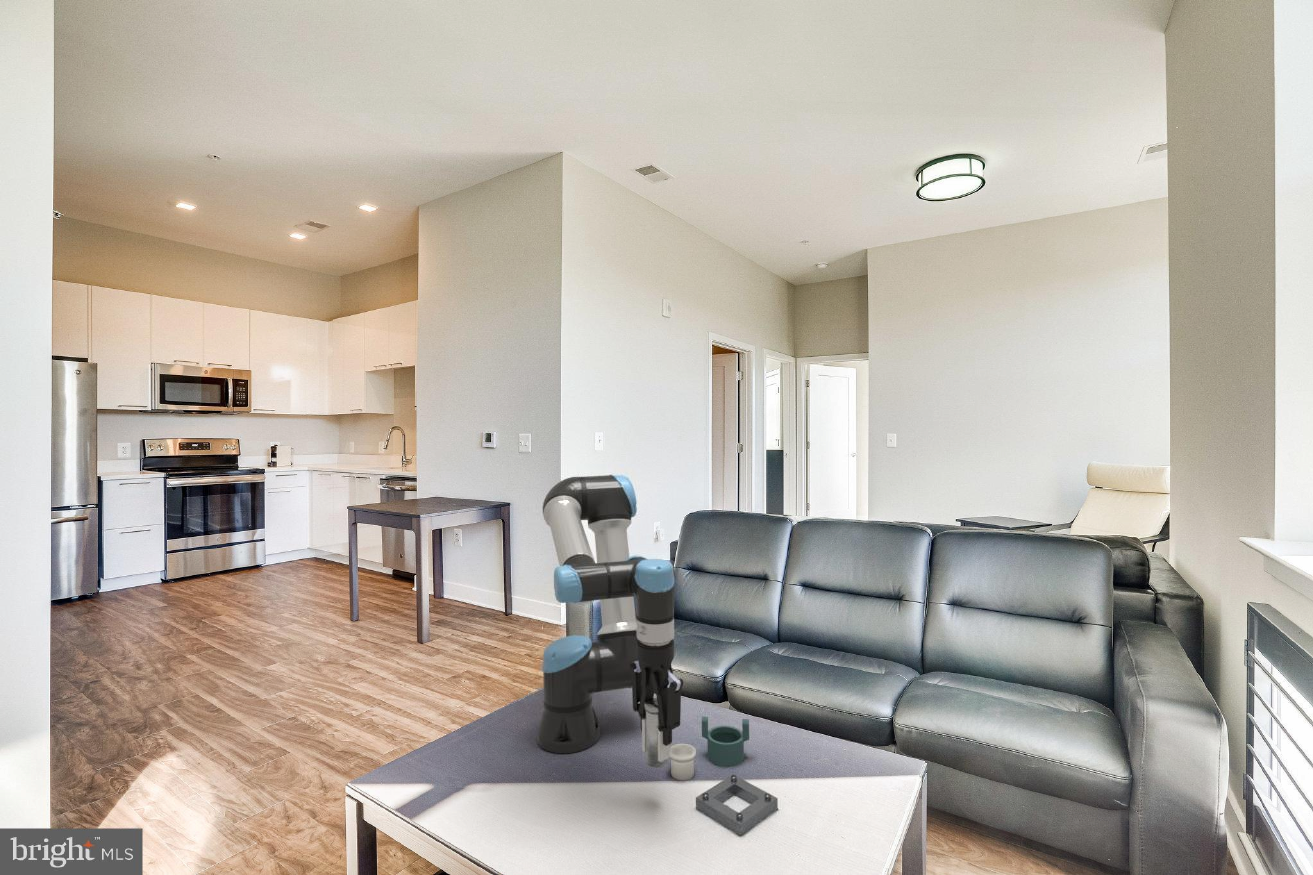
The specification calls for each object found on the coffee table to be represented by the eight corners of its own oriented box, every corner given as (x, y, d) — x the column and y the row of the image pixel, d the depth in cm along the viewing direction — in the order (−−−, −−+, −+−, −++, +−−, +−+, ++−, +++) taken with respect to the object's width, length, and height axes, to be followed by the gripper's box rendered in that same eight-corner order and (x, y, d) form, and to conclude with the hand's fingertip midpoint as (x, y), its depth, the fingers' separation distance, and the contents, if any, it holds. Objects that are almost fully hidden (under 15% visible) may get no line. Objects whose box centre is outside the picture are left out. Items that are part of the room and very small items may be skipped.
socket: (696, 808, 121) (695, 794, 121) (733, 784, 128) (733, 771, 128) (740, 836, 112) (740, 821, 112) (777, 809, 120) (777, 795, 120)
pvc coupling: (663, 773, 133) (663, 750, 133) (682, 762, 137) (682, 740, 137) (682, 784, 129) (682, 761, 128) (701, 773, 133) (701, 750, 132)
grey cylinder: (640, 761, 123) (639, 703, 122) (656, 752, 126) (656, 695, 125) (655, 771, 119) (655, 711, 119) (672, 761, 123) (672, 703, 122)
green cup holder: (753, 759, 138) (752, 720, 138) (720, 771, 133) (719, 731, 133) (729, 742, 145) (728, 704, 145) (696, 753, 141) (696, 714, 141)
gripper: (613, 632, 125) (614, 743, 126) (671, 657, 113) (672, 780, 114) (641, 623, 130) (642, 730, 131) (699, 646, 118) (700, 764, 119)
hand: (656, 753), depth 123 cm, fingers closed on grey cylinder, 4 cm apart
